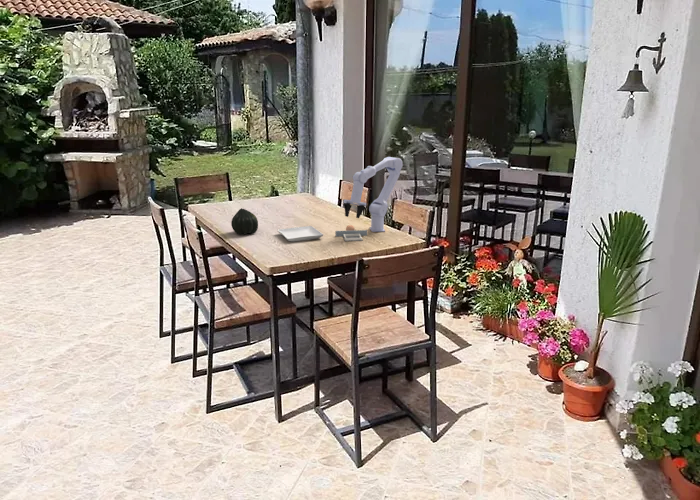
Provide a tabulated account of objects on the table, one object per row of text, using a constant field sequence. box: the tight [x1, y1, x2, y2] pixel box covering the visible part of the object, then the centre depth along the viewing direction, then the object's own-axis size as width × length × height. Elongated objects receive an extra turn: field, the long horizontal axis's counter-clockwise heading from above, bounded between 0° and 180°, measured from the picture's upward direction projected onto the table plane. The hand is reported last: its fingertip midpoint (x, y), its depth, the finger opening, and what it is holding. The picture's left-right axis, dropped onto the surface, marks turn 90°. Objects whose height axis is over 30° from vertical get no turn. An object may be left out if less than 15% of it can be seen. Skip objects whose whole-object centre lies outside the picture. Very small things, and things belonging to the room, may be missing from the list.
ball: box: [345, 224, 356, 231], centre depth 309 cm, size 5×5×5 cm
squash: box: [230, 208, 259, 236], centre depth 307 cm, size 14×15×15 cm
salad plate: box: [276, 225, 324, 242], centre depth 302 cm, size 21×21×3 cm
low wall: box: [335, 229, 368, 237], centre depth 304 cm, size 1×18×3 cm, turn 97°
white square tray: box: [342, 234, 364, 242], centre depth 299 cm, size 10×10×2 cm
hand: (352, 217), depth 303 cm, fingers open, 7 cm apart
